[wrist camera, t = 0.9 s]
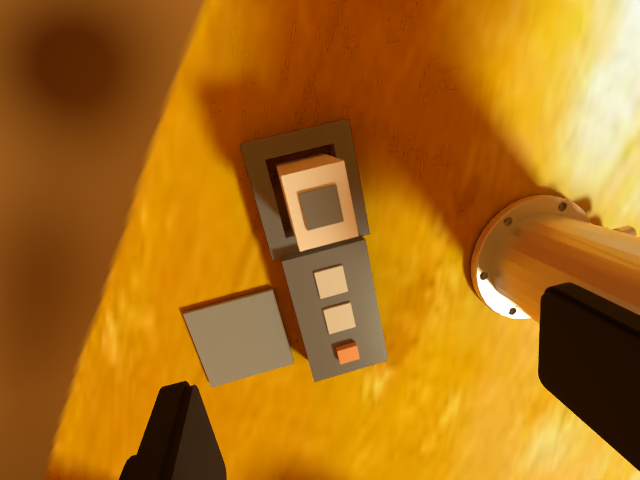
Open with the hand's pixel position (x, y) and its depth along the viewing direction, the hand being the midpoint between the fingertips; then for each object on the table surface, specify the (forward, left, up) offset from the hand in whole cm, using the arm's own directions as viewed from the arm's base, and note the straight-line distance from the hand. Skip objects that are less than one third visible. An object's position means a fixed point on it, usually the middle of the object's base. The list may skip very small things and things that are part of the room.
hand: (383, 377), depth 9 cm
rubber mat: (+8, +11, -22) cm, 26 cm away
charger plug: (-1, -1, -22) cm, 22 cm away
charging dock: (-1, +5, -22) cm, 23 cm away
